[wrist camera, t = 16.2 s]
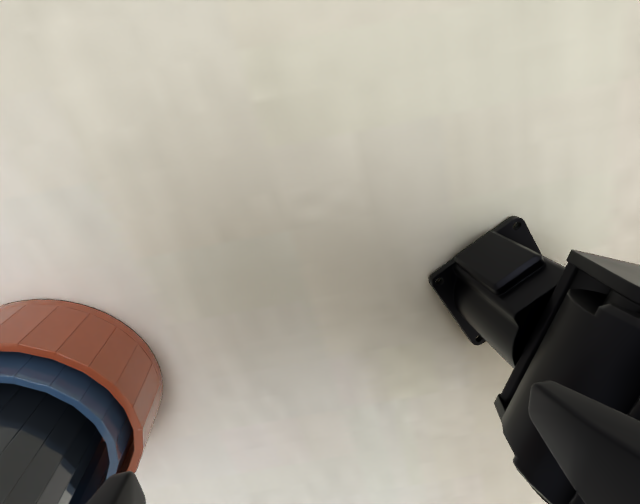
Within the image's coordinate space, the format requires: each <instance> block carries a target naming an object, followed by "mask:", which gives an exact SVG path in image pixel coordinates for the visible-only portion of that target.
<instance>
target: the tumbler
mask: <svg viewBox="0 0 640 504" xmlns="http://www.w3.org/2000/svg"><path fill="white" fill-rule="evenodd" d="M102 439H103V437H102V436H101V434H100V433H99V431H98V429H97V428H96V426H95V425H94V423H92V422H91V421H90V420H89V419H88V418H87V417H85V416H84V415H83V414H82V413H81V412H80V411H78V410H77V409H76V408H75V407H74V406H72V405H70V404H68V403H66V402H64V401H62V400H60V399H58V398H56V397H54V396H52V395H50V394H48V393H46V392H42V391H38V390H35V389H31V388H27V387H23V386H19V385H15V384H8V383H0V504H70V503H71V501H72V499H73V497H74V495H75V493H76V491H77V489H78V487H79V485H80V483H81V481H82V479H83V477H84V475H85V473H86V471H87V469H88V467H89V465H90V463H91V461H92V459H93V457H94V455H95V453H96V451H97V449H98V447H99V445H100V443H101V441H102Z"/></svg>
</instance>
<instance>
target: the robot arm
mask: <svg viewBox="0 0 640 504" xmlns="http://www.w3.org/2000/svg"><path fill="white" fill-rule="evenodd" d="M514 223H517V224H516V226H515V227H514V228H513V225H514ZM566 261H568V263H567V265H566V267H564V266H562V265H560V264H558V263H556V262H554V261H552V260H550V259H548V258H546V257H544V256H542V254H541V253H540V251H539V249H538V247H537V245H536V243H535V241H534V239H533V237H532V235H531V233H530V231H529V229H528V227H527V225H526V223H525V221H524V220H523V219H522V218H519V217H517V216H512V217H510V218H508V219H507V220H505V221H504V222H503V223H501V224H500V225H498V226H497V227H496V228H494V229H493V230H492V231H489V232H487V233H486V234H485V235H483V236H482V237H481V238H479V239H478V240H476V241H475V242H474V243H472V244H471V245H470V246H468V247H467V248H465V249H464V250H463V251H461V252H460V253H459V254H457V255H456V256H455V257H454V258H453V259H452V260H450V261H449V262H447V263H446V264H445V265H443V266H442V267H441V268H439V269H438V270H436V271H435V272H434V273H432V274H431V275H430V277H429V283H430V285H431V286H432V287H433V289H434V290H435V292H436V293H437V295H438V296H439V297H440V299H441V300H442V302H443V303H444V304H445V306H446V307H447V309H448V310H449V312H450V313H451V314H452V316H453V317H454V319H455V320H456V322H457V323H458V324H459V326H460V327H461V329H462V330H463V331H464V333H465V334H466V336H467V337H468V339H469V340H470V341H471V342H472V343H473V344H474V345H480V344H482V343H484V342H485V341H487V342H488V343H489V344H490V345H491V346H492V347H493V348H494V349H495V350H496V351H497V352H498V353H499V354H500V355H501V356H502V357H503V358H504V359H505V360H506V361H507V362H508V363H509V364H510V365H511V366H512V367H513V368H514V370H513V372H512V374H511V376H510V378H509V380H508V381H507V383H506V385H505V387H504V389H503V391H502V393H501V394H498V396H497V398H496V400H495V402H494V404H495V407H496V409H497V412H498V414H499V417H500V419H501V422H502V427H503V433H504V435H505V437H506V439H507V441H508V443H509V445H510V447H511V449H512V451H513V452H514V455H515V457H514V458H513V463H514V465H515V466H516V468H517V470H518V471H519V472H520V474H521V475H522V476H523V477H524V478H525V479H526V481H527V482H528V483H529V484H530V485H531V487H532V488H533V489H534V490H535V491H536V492H537V494H538V495H539V496H540V497H541V498H542V499H543V500H544V501H545V502H547V503H548V504H640V265H638V264H633V263H629V262H625V261H620V260H616V259H612V258H607V257H603V256H599V255H594V254H590V253H585V252H581V251H577V250H571V252H570V254H569V256H568V258H567V260H566ZM438 278H440V281H439V282H437V283H435V282H436V280H437V279H438ZM477 336H478V337H477ZM476 337H477V338H476ZM475 338H476V339H475ZM86 504H146V500H145V495H144V493H143V491H142V489H141V486H140V484H139V482H138V480H137V478H136V475H135V474H134V473H133V472H132V471H127V472H122V473H118V474H114V475H112V476H110V477H109V478H108V479H107V480H106V481H105V482H104V483H103V484H102V485H101V487H100V488H99V489H98V490H97V491H96V492H95V493H94V495H93V496H92V497H91V498H90V499H89V500H88V501H87V503H86Z"/></svg>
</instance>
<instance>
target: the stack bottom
mask: <svg viewBox="0 0 640 504" xmlns="http://www.w3.org/2000/svg"><path fill="white" fill-rule="evenodd" d="M0 352H21V353H25V354H30V355H35V356H39V357H44V358H49V359H53V360H55V361H58V362H60V363H62V364H65V365H67V366H69V367H72V368H74V369H76V370H79V371H81V372H83V373H85V374H86V375H88V376H89V377H91V378H92V379H93V380H95V381H96V382H98V383H99V384H100V385H102V386H103V387H105V388H106V389H108V391H109V392H110V393H111V394H112V395H113V396H114V398H115V399H116V400H117V401H118V402H119V403H120V405H121V406H122V407H123V408H124V409H125V412H126V414H127V416H128V419H129V421H130V423H131V426H132V428H133V437H132V439H131V442H130V444H129V447H128V449H127V451H126V454H125V456H124V459H123V461H122V464H121V466H120V469H119V471H118V473H122V472H127V471H132V472H133V473H135V472H136V470H137V468H138V465H139V462H140V459H141V457H142V454H143V451H144V448H145V445H146V443H147V440H148V437H149V434H150V431H151V429H152V426H153V423H154V420H155V417H156V414H157V412H158V409H159V406H160V402H161V399H162V391H163V383H162V375H161V371H160V368H159V365H158V363H157V360H156V358H155V356H154V355H153V353H152V351H151V350H150V348H149V347H148V346H147V344H146V343H145V342H144V341H143V340H142V339H141V337H139V336H138V335H137V334H136V333H135V332H134V331H133V330H132V329H130V328H129V327H128V326H126V325H125V324H123V323H122V322H121V321H119V320H117V319H115V318H114V317H112V316H110V315H108V314H106V313H104V312H101V311H99V310H97V309H94V308H91V307H88V306H84V305H81V304H77V303H72V302H67V301H59V300H26V301H18V302H13V303H9V304H4V305H1V306H0ZM101 442H104V439H102V441H101ZM118 473H117V474H118Z"/></svg>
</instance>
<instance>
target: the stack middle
mask: <svg viewBox="0 0 640 504" xmlns="http://www.w3.org/2000/svg"><path fill="white" fill-rule="evenodd" d="M0 383H8V384H15V385H19V386H23V387H27V388H31V389H35V390H38V391H42V392H46V393H48V394H50V395H52V396H54V397H56V398H58V399H60V400H62V401H64V402H66V403H68V404H70V405H72V406H74V407H75V408H76V409H77V410H78V411H80V412H81V413H82V414H83V415H84V416H85V417H87V418H88V419H89V420H90V421H91V422H92V423H94V425H95V426H96V428H97V429H98V431H99V433H100V434H101V436H102V437H103V439H104V442H101V443H100V445H99V447H98V449H97V451H96V453H95V455H94V457H93V459H92V461H91V463H90V465H89V467H88V469H87V471H86V473H85V475H84V477H83V479H82V481H81V483H80V485H79V487H78V489H77V491H76V493H75V495H74V497H73V499H72V501H71V503H70V504H86V503H87V501H88V500H89V499H90V498H91V497H92V496H93V495H94V493H95V492H96V491H97V490H98V489H99V488H100V487H101V485H102V484H103V483H104V482H105V481H106V480H107V479H108V478H109V477H110V476H112V475H114V474H117V473H118V471H119V469H120V466H121V464H122V461H123V459H124V456H125V454H126V451H127V449H128V447H129V444H130V442H131V439H132V437H133V428H132V426H131V423H130V421H129V419H128V416H127V414H126V412H125V409H124V408H123V407H122V406H121V405H120V403H119V402H118V401H117V400H116V399H115V398H114V396H113V395H112V394H111V393H110V392H109V391H108V389H106V388H105V387H103V386H102V385H100V384H99V383H98V382H96V381H95V380H93V379H92V378H91V377H89V376H88V375H86V374H85V373H83V372H81V371H79V370H76V369H74V368H72V367H69V366H67V365H65V364H62V363H60V362H58V361H55V360H53V359H49V358H44V357H39V356H35V355H30V354H25V353H21V352H0Z"/></svg>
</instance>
